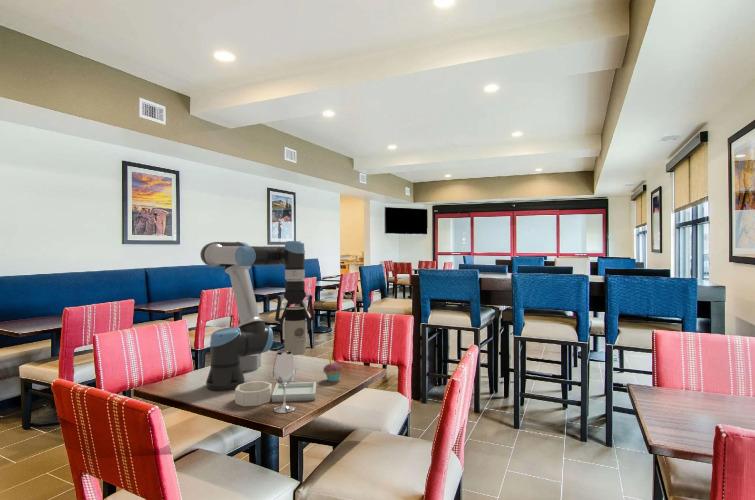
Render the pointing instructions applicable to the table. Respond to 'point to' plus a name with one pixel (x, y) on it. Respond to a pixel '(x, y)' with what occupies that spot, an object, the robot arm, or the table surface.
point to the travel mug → (295, 330)
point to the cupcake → (333, 371)
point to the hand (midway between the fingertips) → (295, 338)
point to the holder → (253, 393)
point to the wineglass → (284, 376)
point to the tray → (295, 392)
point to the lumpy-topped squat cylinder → (250, 362)
